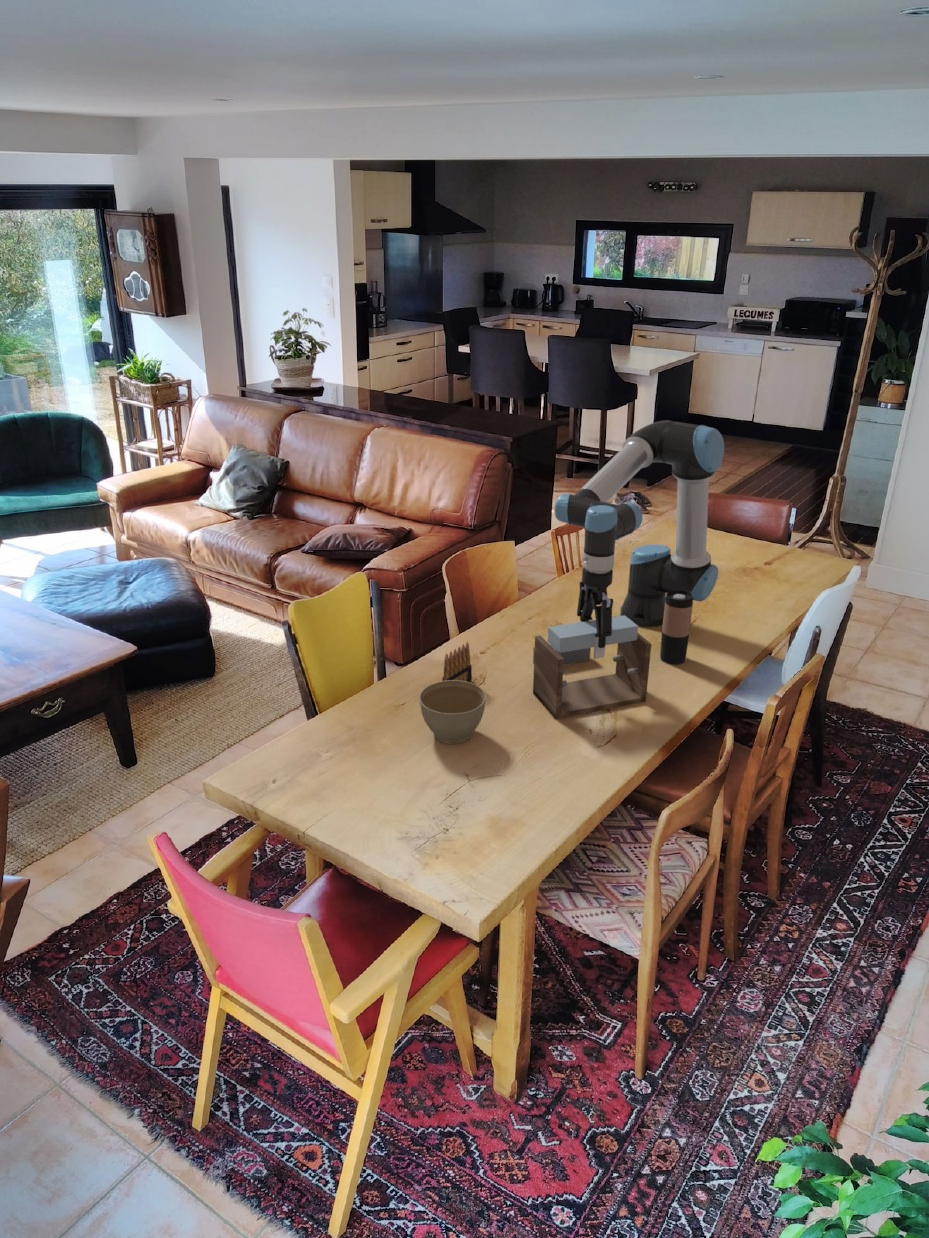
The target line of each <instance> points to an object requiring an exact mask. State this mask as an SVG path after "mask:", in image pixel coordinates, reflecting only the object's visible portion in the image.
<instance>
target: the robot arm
mask: <svg viewBox="0 0 929 1238" xmlns="http://www.w3.org/2000/svg"><path fill="white" fill-rule="evenodd" d="M724 442H725V441H724V438H723V436H722V433H721V432H720V431H719V430H718V429H716V428H715V427H710V426H707V425H704V424H700V425H699V424H693V423H691V424H690V423H687V422H686V423H685V422H679V421H674V420H667V419H666V420H660V421H655V422H652V423H650V424H647V425H645V426H643V427H641V428H639V429H638V430H636V431H634V432H633V433H631V435H630V436H628V437H627V438H626V439H625V441H623V443H622V447H621V448H622V449H620V450H619V451H618V452H617V453H616V454H615V455H614V456H613V457H612V458H611V459H610V460H609V461H608V462H606V464H604V466H602V468H601V469H599V471H597V473H595V474H594V475H593V477H591V478H590V479H589V480H588V481H587V482H586V483H585V484H584V485H583V486H582V487H581V488H580V489H579V490H578V491H577V492H576V493H575V494H572V493H562V494H560V495H559V497H558V498H557V500H556V502H555V505H554V510H553V511H554V516H555V518H556V520H557V521H559V522H561V523H564V524H566V525H567V524H568V526H575V527H579V528H584V541H583V542H584V543H583V544H584V547H583V557H582V567H583V568H582V572H581V581H579V596H578V601H577V602H578V603H577V610H576V616H577V617H579V622H585V621H591V620H594V618H593V617H592V616H593V612H594V614H595V615H594V616H595V620H596V628H597V634H595V644H594V647H593V657H592V658H593V659H594V660H596V659H602V658H605V656H606V655H605V652H606V645H605V644H606V643H605V642H606V637H607V636H611V635H612V617H613V605H614V599H613V598H609V597H608V588H609V587H610V586H611V585H612V583H613V574H614V570H613V569H614V564H615V562H614V561H615V550H616V541H617V540H619V539H621V538H623V537H625V536H627V535H630V534H632V533H633V534H634V532H635V531H636V530H637V529H639V528H640V527H641V525H642V523H643V513H642V510H641V509H640V507H639V506H638V505H636V504H635V503H633V502H622V503H620V504H614V503H611V502H609V501H610V500H612V498H613V497H614V496H615V495H616V494H617V493H618V492H619V491H620V490H621V489H623V487H624V486H625V485H626V484H627V483H628V482H629V481H631V479H632V478H633V477H634V476H635V475H636V474H638V472H639V471H640V470H641V469H643V468H644V469H645V468H647V467H649V466H651V464H654V463H663V464H667V465H671V474H672V476H673V477H674V478H675V479H676V480H677V482H676V483H677V487H676V488H677V491H676V492H677V493H676V495H677V496H676V539H675V541H676V542H675V543H676V544H675V550H674V551H673V552H672V551H671V548H670V547H669V546H666V545H664V544H645V545H641V546H638V547H636V548H635V549H633V550H632V551H631V554H630V555H631V556H630V561H629V574H628V589H627V593H626V596H625V598H624V600H623V603H622V605H621V606H620V607H621V608H620V615H619V616H624V615H625V616H626V617H627V618H629V619H630V620H631V621H632V622H634V623H635V624H636V625H638V627H647V628H648V627H659V626H663V618H664V609H665V600H666V593H667V592H668V591H671V590H684V591H687V592H690V593H691V594H692V597H694V598H693V601H695V602H703V601H705V600H706V599H708V598H709V596H710V595H711V593H712V592H713V590H714V588H715V586H716V583H717V580H718V577H719V567H718V566H717V565H715V564H712V556H711V554H710V553H709V552H708V551H707V539H708V538H707V536H708V532H707V530H708V510H709V509H708V507H709V489H710V488H709V487H710V486H709V484H710V478H712V477H713V476H715V473H716V471H718V470H719V469H720V467H721V466H722V463H723V457H724V455H725V443H724Z"/></svg>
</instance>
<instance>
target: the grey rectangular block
mask: <svg viewBox="0 0 929 1238" xmlns="http://www.w3.org/2000/svg"><path fill="white" fill-rule="evenodd" d="M550 645H551V644H550ZM551 646H552V645H551ZM552 647H553V646H552ZM553 648H554V647H553ZM554 649H555V648H554ZM591 649H592V648H586V649H580V650H574V651H568V652H562V653H559V652H558V651H557V650H556V649H555V650H556V651H557V652H558V653H559V654H560V655H561V656H562V657H563V658H564V665H563V666H567V665H573V664H577V663H584V662H590V661H591ZM532 652H533V654H532V655H533V656H532V664H533V665H534V652H535V646H534V647H533V651H532Z"/></svg>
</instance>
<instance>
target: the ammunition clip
mask: <svg viewBox="0 0 929 1238" xmlns="http://www.w3.org/2000/svg"><path fill="white" fill-rule="evenodd" d="M470 653H471V652H470V645H469V642H468V641H467V642H466V643H465V644H464V643H462V645H461V647H460V646H458V647H457V649H456V648H455V649H453V652H452V651H450V652H449V653H446V654H445V655H444V656H445V657H444V663H443V664H444V665H443V676H442V680H441V681H447V680H460V681H466V682H470V683H472V681H473V680H472V679H473V677H472V675H473V674H472V672H473V671H472V669H473V668H472V664H471V654H470Z"/></svg>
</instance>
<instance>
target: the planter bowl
mask: <svg viewBox="0 0 929 1238" xmlns="http://www.w3.org/2000/svg"><path fill="white" fill-rule="evenodd" d="M418 696H419V697H418V698H419V699H418V701H419V704H420V712H421V715H422V717H423V720H424V722H425V724H426V726H427V727H428V729H429V730H430V731H431V733H433V736H434V737H435V739H436V740H438V741H439V742H441V743H444V744H449V745H452V744H453V745H457V744H462V743H464V742H466V741H469V739H471V737H472V736H473V733H474V731H475V730H476V729H477V728H478V726H479V724H480V723H481V721H482V718H483V715H484V712H485V704H486V701H487V694H486V693H485V690H484V689H483V688H481V687H480V686H479V685H476V684H475V683H473V682H466V681H460V680H447V681H442V680H441V681H437V682H434V683H432V684H429V685H427V686H426V687H424V688H423V689H422V690H421V691H420V693H419V695H418Z"/></svg>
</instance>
